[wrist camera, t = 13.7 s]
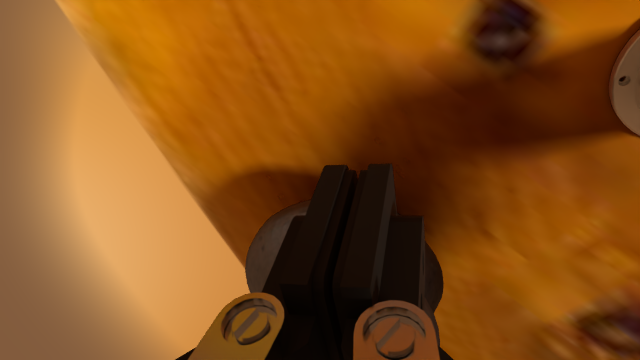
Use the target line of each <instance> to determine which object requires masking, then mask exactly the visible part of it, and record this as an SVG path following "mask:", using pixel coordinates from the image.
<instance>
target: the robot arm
mask: <svg viewBox="0 0 640 360" xmlns="http://www.w3.org/2000/svg"><path fill="white" fill-rule="evenodd" d="M623 76H624V77H623ZM621 77H623V78H622V79H620V78H621ZM619 79H620V80H619ZM609 96H610V101H611V105H612V107H613V109H614V111H615V113H616V115H617V116H618V117H619V119H620V120H621V121H622V123H623V124H624V125H625V126H626V127H628V128H629V129H630V130H631V131H632V132H634V133H636V134H638V135H639V136H640V29H639V30H638V31H637V32H636V33H635V34H634V35H633V36H632V38H631V39H630V40H629V41H628V42H627V44H626V45H625V47H624V48H623V49H622V51H621V52H620V54H619V56H618V58H617V60H616V62H615V64H614V66H613V69H612V73H611V76H610V80H609ZM424 294H425V235H424V219H423V216H397V207H396V197H395V187H394V176H393V167H392V164H391V163H390V164H369V166H368V170H361V171H360V175H359V178H358V181H357V175H356V171H355V170H349V168H348V166H347V165H326V166H325V167H324V168H323V171H322V174H321V176H320V179H319V181H318V184H317V186H316V189H315V192H314V194H313V197H312V199H311V202H310V204H309V207H308V210H307V212H306V215H296V216H295V217H293V219H292V221H291V223H290V226H289V228H288V230H287V233H286V235H285V237H284V240H283V242H282V244H281V247H280V249H279V252H278V254H277V256H276V259H275V261H274V263H273V266H272V268H271V271H270V273H269V275H268V278H267V280H266V282H265V285H264V287H263V290H262V292H261V293H258V292H255V293H250V294H245V295H243V296H241V297H238V298H236V299H234V300H233V301H232V302H230V303H229V304H227V305H226V306H225V307H224V308H223V309H222V311H221V312H220V313H219V314H218V316H217V317H216V319H215V320H214V322H213V323H212V324H211V326H210V327H209V329H208V330H207V332H206V333H205V335H204V336H203V338H202V339H201V341H200V342H199V344H198V345H197V347H196V348H194V349H192V350H191V351H189V352H187V353H186V354H184V355H182V356H181V357H179V358H177V359H176V360H453V359H452V358H451V357H450V356H449V355H448V354H447V353H446V352H445V351H444V350H443V349H441V348H440V347H439V346H438V345H437V340H436V334H435V329H434V327H433V324H432V321H431V319H430V318H429V317H428V315H427V314H426V313H425V312H424Z"/></svg>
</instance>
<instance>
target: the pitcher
mask: <svg viewBox="0 0 640 360" xmlns="http://www.w3.org/2000/svg"><path fill="white" fill-rule="evenodd" d="M310 202H311V200H308V201H304V202H301V203H298V204H295V205H292V206H289V207H287V208H285V209H283V210H282V211H280V212H278V213H276V214H274V215H272V216H271V217H270V218H269V219H268V220H267V221H266V222H265V223H264V225H263V226H262V227H261V228H260V229H259V231H258V233H257V234H256V236H255V238H254V240H253V242H252V244H251V245H250V247H249V251H248V254H247V258H246V268H245V272H246V278H247V284H248V287H249V290H250V293H255V292H258V293H261V292H262V290H263V287H264V285H265V282H266V280H267V278H268V275H269V273H270V271H271V268H272V266H273V263H274V261H275V259H276V256H277V254H278V252H279V249H280V247H281V244H282V242H283V240H284V237H285V235H286V233H287V230H288V228H289V226H290V223H291V221H292V219H293V217H295V216H296V215H306V212H307V210H308V207H309V204H310ZM397 216H401V215H400V214H398V213H397ZM442 294H443V276H442V270H441V267H440V264H439V262H438V260H437V258H436V256H435V254H434V252H433V251H432V250H431V248H430V247H429V246H428V244H427V243H426V241H425V294H424V312H425V313H426V314H427V315H428V317H429V318H430V319H431V321H432V324H433V327H434V329H435V334H436V340H437V345H438V346H439V347H440V339H439V329H438V326H437V322H436V319H435V316H434V312H435V310H436V308H437V306H438V304H439V302H440V300H441V298H442Z"/></svg>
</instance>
